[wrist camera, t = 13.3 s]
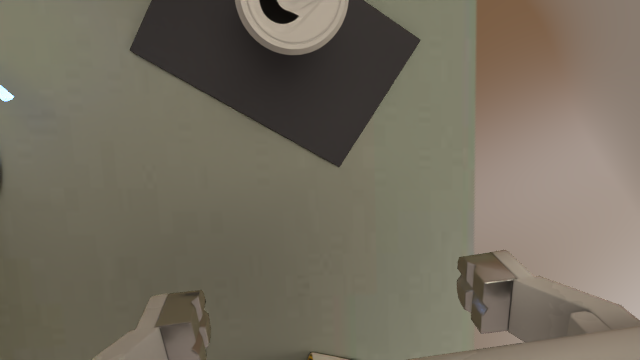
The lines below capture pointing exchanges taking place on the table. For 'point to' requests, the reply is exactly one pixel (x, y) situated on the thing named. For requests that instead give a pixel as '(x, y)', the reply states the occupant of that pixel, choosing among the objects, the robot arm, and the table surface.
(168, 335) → the robot arm
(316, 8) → the beverage can
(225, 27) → the mat
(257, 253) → the table surface
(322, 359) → the medicine bottle
